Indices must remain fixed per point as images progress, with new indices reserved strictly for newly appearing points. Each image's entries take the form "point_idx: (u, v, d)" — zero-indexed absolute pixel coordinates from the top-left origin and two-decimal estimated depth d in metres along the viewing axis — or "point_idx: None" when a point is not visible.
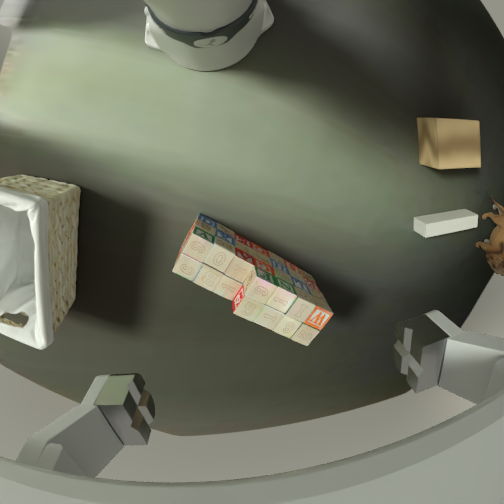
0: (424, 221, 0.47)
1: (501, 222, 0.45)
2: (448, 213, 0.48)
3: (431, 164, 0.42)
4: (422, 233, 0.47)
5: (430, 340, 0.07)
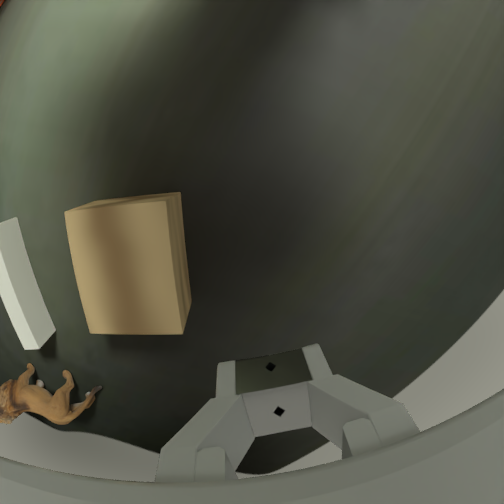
0: (2, 227, 0.22)
1: (53, 403, 0.25)
2: (33, 288, 0.26)
3: (81, 206, 0.22)
4: None
5: (288, 381, 0.07)
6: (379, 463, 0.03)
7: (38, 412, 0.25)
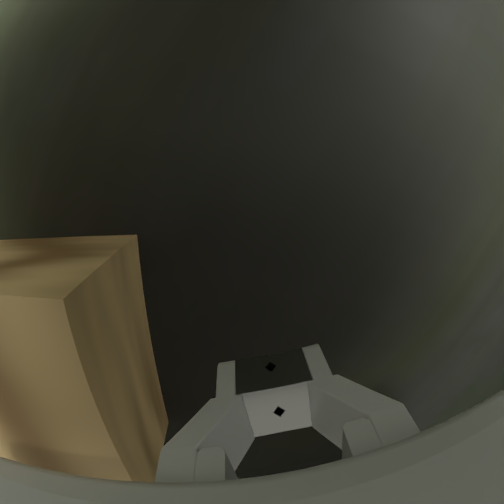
0: None
1: None
2: None
3: None
4: None
5: (288, 381, 0.07)
6: (379, 463, 0.03)
7: None
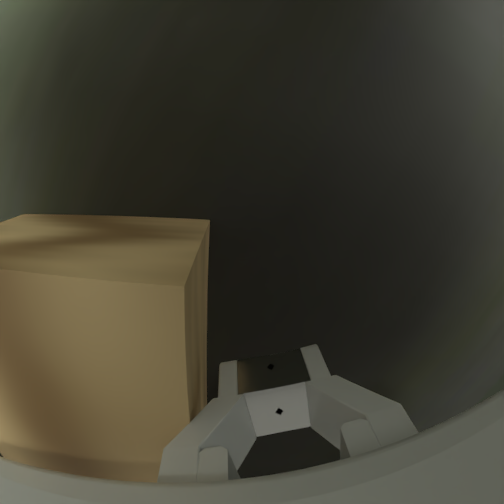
0: None
1: None
2: None
3: None
4: None
5: (286, 381, 0.07)
6: (379, 463, 0.03)
7: None
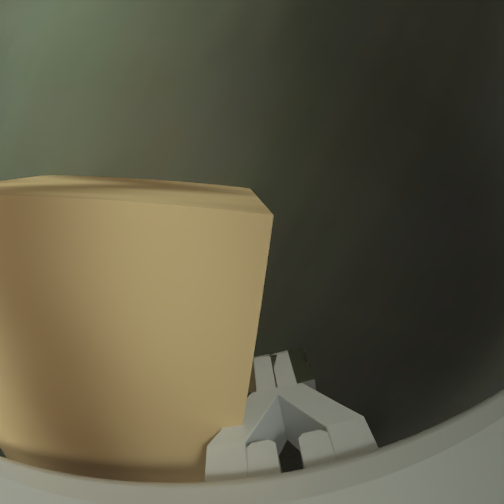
0: None
1: None
2: None
3: None
4: None
5: (253, 387, 0.07)
6: (379, 463, 0.03)
7: None
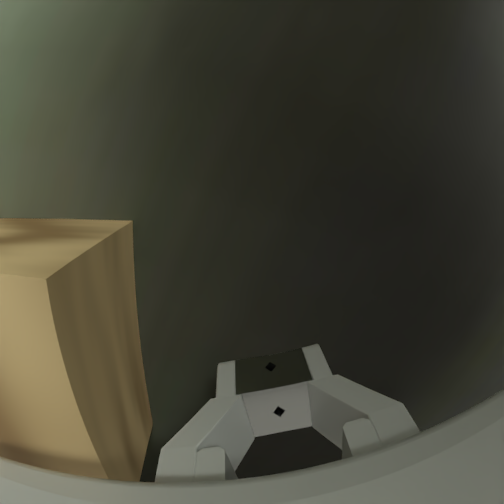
0: None
1: None
2: None
3: None
4: None
5: (288, 381, 0.07)
6: (379, 463, 0.03)
7: None
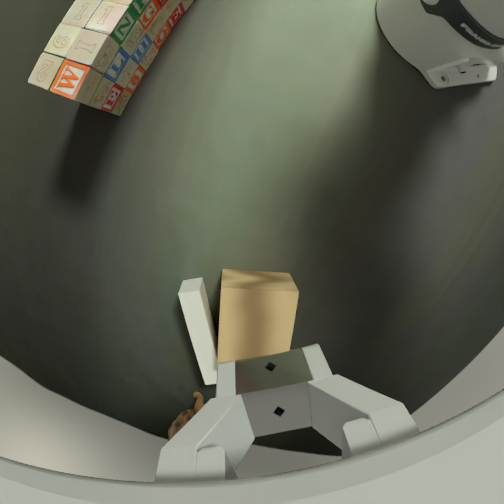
0: (201, 290, 0.34)
1: None
2: (215, 335, 0.38)
3: (225, 280, 0.33)
4: (182, 289, 0.34)
5: (288, 381, 0.07)
6: (379, 463, 0.03)
7: None
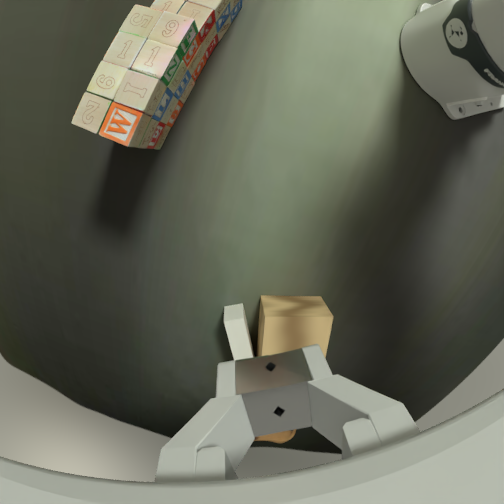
0: (244, 316, 0.38)
1: None
2: (253, 353, 0.41)
3: (267, 308, 0.36)
4: (227, 316, 0.37)
5: (288, 381, 0.07)
6: (379, 463, 0.03)
7: (265, 439, 0.40)
